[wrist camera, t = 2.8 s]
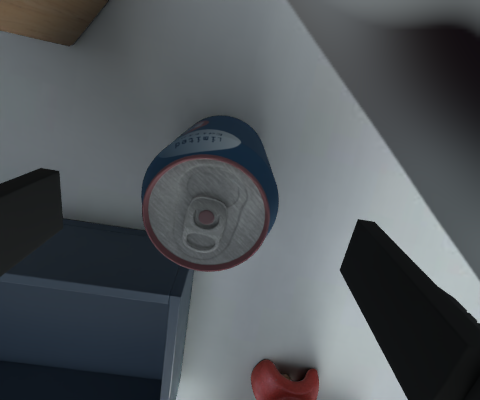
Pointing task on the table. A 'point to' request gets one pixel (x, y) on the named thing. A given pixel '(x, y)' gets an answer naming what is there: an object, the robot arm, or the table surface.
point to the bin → (93, 318)
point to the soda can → (210, 196)
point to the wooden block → (49, 18)
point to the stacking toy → (282, 384)
